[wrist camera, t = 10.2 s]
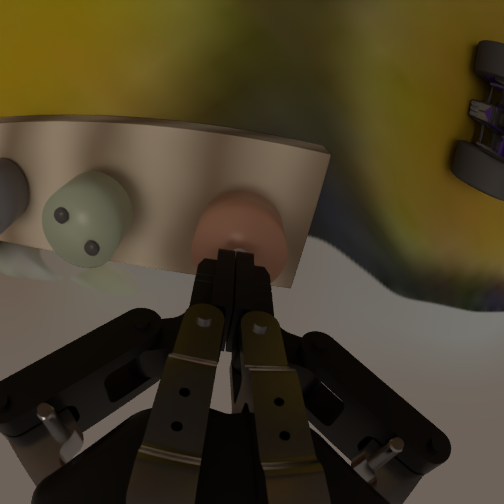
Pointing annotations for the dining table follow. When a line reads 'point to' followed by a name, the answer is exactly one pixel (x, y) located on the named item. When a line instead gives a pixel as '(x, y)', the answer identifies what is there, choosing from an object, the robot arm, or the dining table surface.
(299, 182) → the button board
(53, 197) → the button
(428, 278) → the dining table surface
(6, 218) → the button
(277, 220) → the button
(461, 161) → the toy race car
